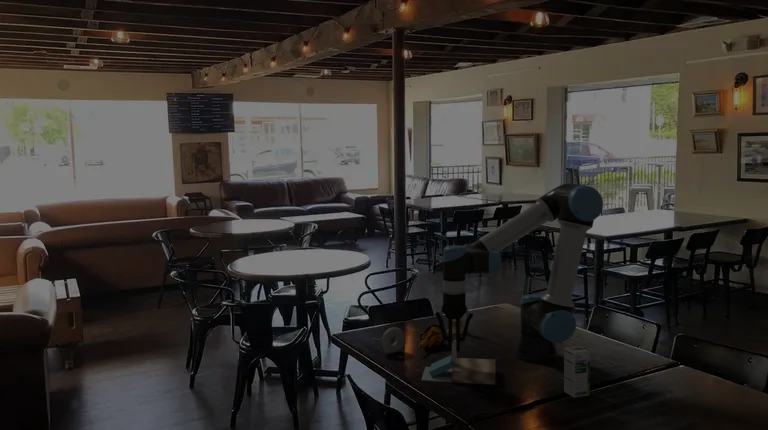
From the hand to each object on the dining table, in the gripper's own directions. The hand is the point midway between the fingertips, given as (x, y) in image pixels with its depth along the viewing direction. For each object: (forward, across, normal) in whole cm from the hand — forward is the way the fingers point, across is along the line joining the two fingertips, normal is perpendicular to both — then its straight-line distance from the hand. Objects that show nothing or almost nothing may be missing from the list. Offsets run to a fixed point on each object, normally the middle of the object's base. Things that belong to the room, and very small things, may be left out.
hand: (454, 360), depth 214 cm
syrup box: (+5, -39, +11) cm, 41 cm away
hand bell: (+6, +2, -52) cm, 52 cm away
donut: (+6, +24, -21) cm, 33 cm away
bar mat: (+5, +6, 0) cm, 8 cm away
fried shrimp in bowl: (+6, +11, -28) cm, 31 cm away
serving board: (+5, -7, 0) cm, 9 cm away
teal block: (+3, +4, 0) cm, 5 cm away
